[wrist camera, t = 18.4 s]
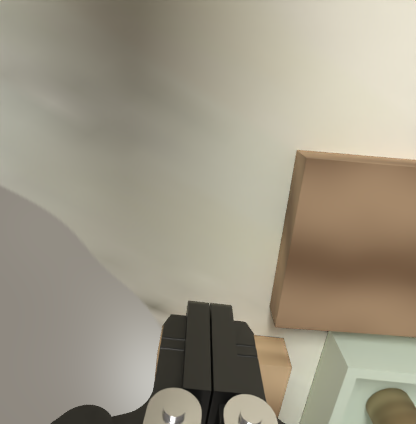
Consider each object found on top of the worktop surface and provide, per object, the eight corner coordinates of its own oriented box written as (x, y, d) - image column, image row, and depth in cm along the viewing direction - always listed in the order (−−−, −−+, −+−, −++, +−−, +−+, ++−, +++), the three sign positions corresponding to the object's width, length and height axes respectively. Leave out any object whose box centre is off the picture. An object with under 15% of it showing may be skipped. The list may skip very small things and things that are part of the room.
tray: (329, 328, 23) (348, 367, 20) (482, 345, 23) (523, 385, 20) (294, 439, 27) (306, 487, 23) (427, 452, 27) (455, 500, 24)
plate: (294, 148, 19) (306, 157, 17) (473, 163, 20) (509, 175, 17) (268, 301, 23) (275, 327, 20) (419, 312, 23) (443, 339, 21)
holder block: (162, 325, 23) (157, 353, 20) (283, 338, 23) (292, 367, 21) (153, 414, 26) (147, 448, 23) (261, 424, 26) (266, 458, 24)
